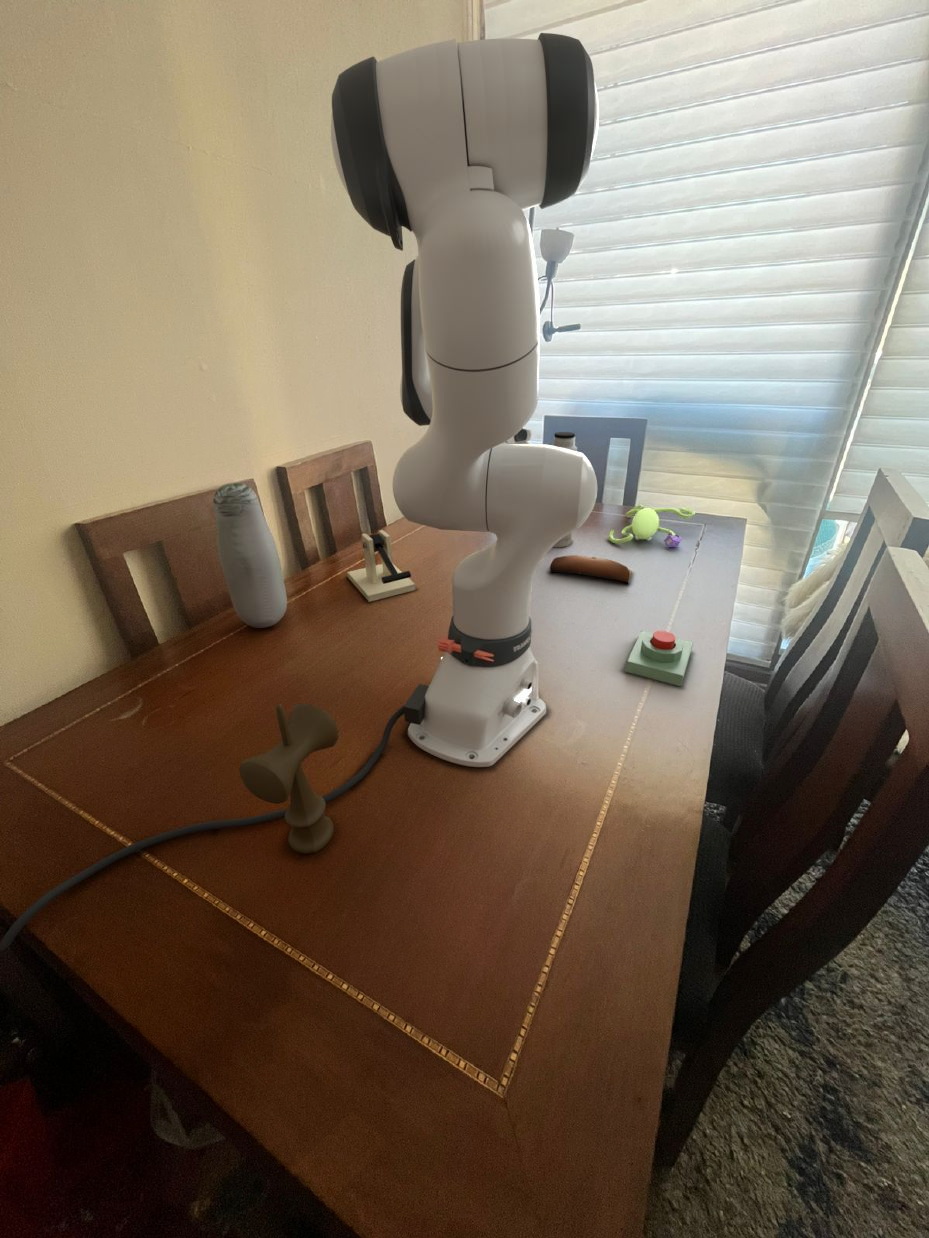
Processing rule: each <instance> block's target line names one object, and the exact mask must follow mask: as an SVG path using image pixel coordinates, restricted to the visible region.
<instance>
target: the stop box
mask: <svg viewBox="0 0 929 1238" xmlns="http://www.w3.org/2000/svg"><path fill="white" fill-rule="evenodd" d="M653 634H654V632H649V631H644V630H641V631H640V632H639V634H638V636H637V639H636V641H635V643H634V645H633V648H632V649H631V651H630V654H629V656H628V658H627V661H626V665H625V670H624V671H625V672H626V673H629V674H633V675H637V676H641V677H643V678H647V679H652V680H655V681H659V682H661V683H666V684H670V685H673V686H677V687H681V686H682V685H683V681H684V678H685V675H686V671H687V667H688V664H689V661H690V657H691V653H692V649H693V646H694V642H691V641H687V640H682V639H679V638H678V637H676V636H675V638H676V639H675V643H674V647H673V649H671V650H662V649H658V648H656V647H654V646H653V645H652V643H651V642H652V638H653Z"/></svg>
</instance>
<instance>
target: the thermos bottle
mask: <svg viewBox="0 0 929 1238" xmlns="http://www.w3.org/2000/svg"><path fill="white" fill-rule="evenodd" d="M553 434H554V435H553V436H554V438H553V444H551V446H556V447H561V448H565V449H569V450H573V451H577V452H578V447H577V446H576V445H575V437H576V433H575V432H572V431H557V432H555V433H553ZM572 537H573V532H572V533H570V534H568V535H566V536H565V537H564V538H562V539H561V540H560V541H558V542H557V543H556V544H555V545H554V546H553V547H552V548H563V547H569V546H570V545H571V544H572Z"/></svg>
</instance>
